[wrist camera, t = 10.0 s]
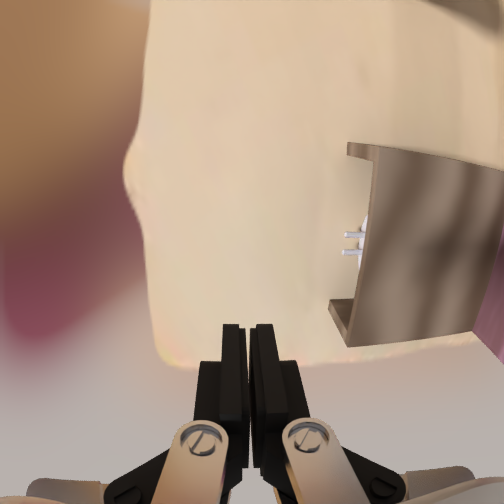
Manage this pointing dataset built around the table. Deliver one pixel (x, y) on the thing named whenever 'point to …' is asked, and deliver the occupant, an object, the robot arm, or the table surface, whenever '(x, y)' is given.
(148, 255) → the table surface
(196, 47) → the table surface
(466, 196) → the grey-brown block
